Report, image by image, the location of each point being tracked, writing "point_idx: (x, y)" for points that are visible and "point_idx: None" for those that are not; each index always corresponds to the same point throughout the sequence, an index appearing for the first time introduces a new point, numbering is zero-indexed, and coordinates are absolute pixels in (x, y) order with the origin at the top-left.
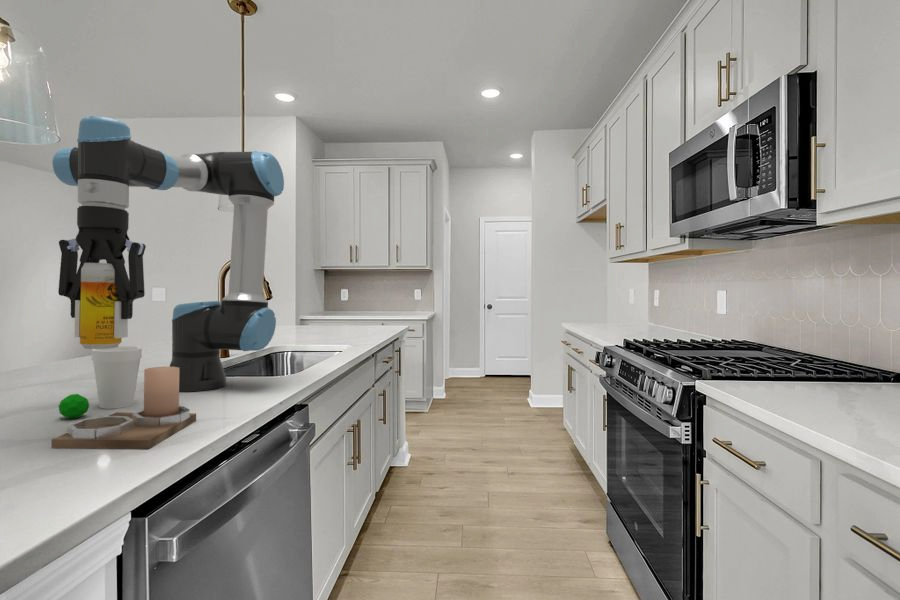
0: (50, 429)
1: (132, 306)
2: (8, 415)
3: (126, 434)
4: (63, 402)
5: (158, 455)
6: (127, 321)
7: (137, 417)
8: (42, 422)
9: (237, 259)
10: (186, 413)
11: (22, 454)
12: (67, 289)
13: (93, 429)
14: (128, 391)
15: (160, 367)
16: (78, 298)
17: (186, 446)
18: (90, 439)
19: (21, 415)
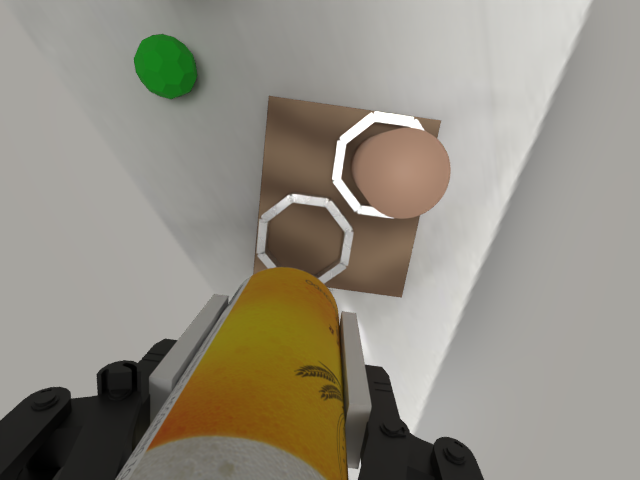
0: (189, 163)
1: (396, 406)
2: (33, 40)
3: (355, 262)
4: (151, 88)
5: (420, 319)
6: (361, 346)
7: (352, 208)
8: (141, 109)
9: None
10: None
11: (233, 294)
12: (58, 473)
13: None
14: None
15: (392, 147)
16: (144, 430)
17: (451, 284)
18: None
19: (59, 42)
